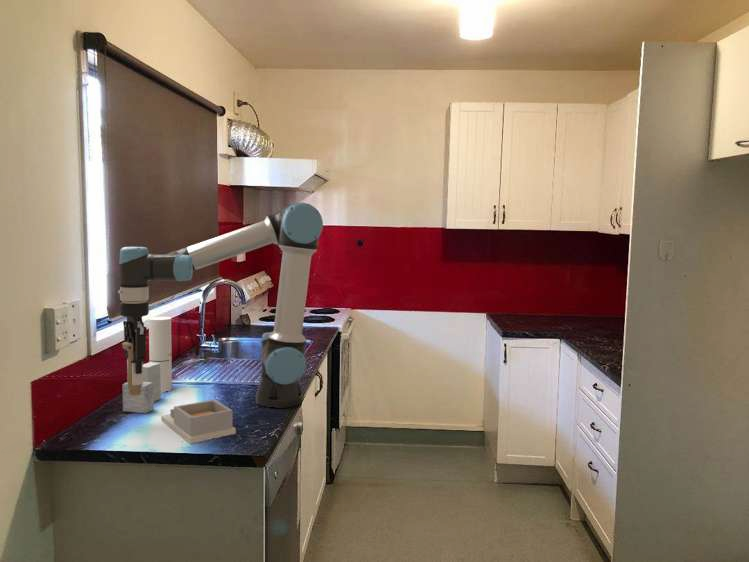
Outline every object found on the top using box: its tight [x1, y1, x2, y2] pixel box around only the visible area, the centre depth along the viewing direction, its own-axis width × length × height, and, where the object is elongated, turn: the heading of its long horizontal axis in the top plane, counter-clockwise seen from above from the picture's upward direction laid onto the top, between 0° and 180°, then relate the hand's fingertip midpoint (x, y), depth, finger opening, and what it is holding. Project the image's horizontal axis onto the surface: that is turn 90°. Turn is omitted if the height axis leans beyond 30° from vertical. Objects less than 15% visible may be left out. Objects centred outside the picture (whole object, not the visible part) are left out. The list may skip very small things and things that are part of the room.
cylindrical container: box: [148, 316, 173, 393], centre depth 201 cm, size 7×7×25 cm
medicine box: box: [122, 382, 155, 414], centre depth 179 cm, size 8×4×9 cm, turn 77°
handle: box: [121, 341, 142, 396], centre depth 167 cm, size 5×6×15 cm
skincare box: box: [143, 361, 162, 402], centre depth 189 cm, size 6×4×12 cm
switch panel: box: [160, 399, 237, 445], centre depth 167 cm, size 13×22×6 cm, turn 39°
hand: (135, 382), depth 168 cm, fingers closed on handle, 4 cm apart
